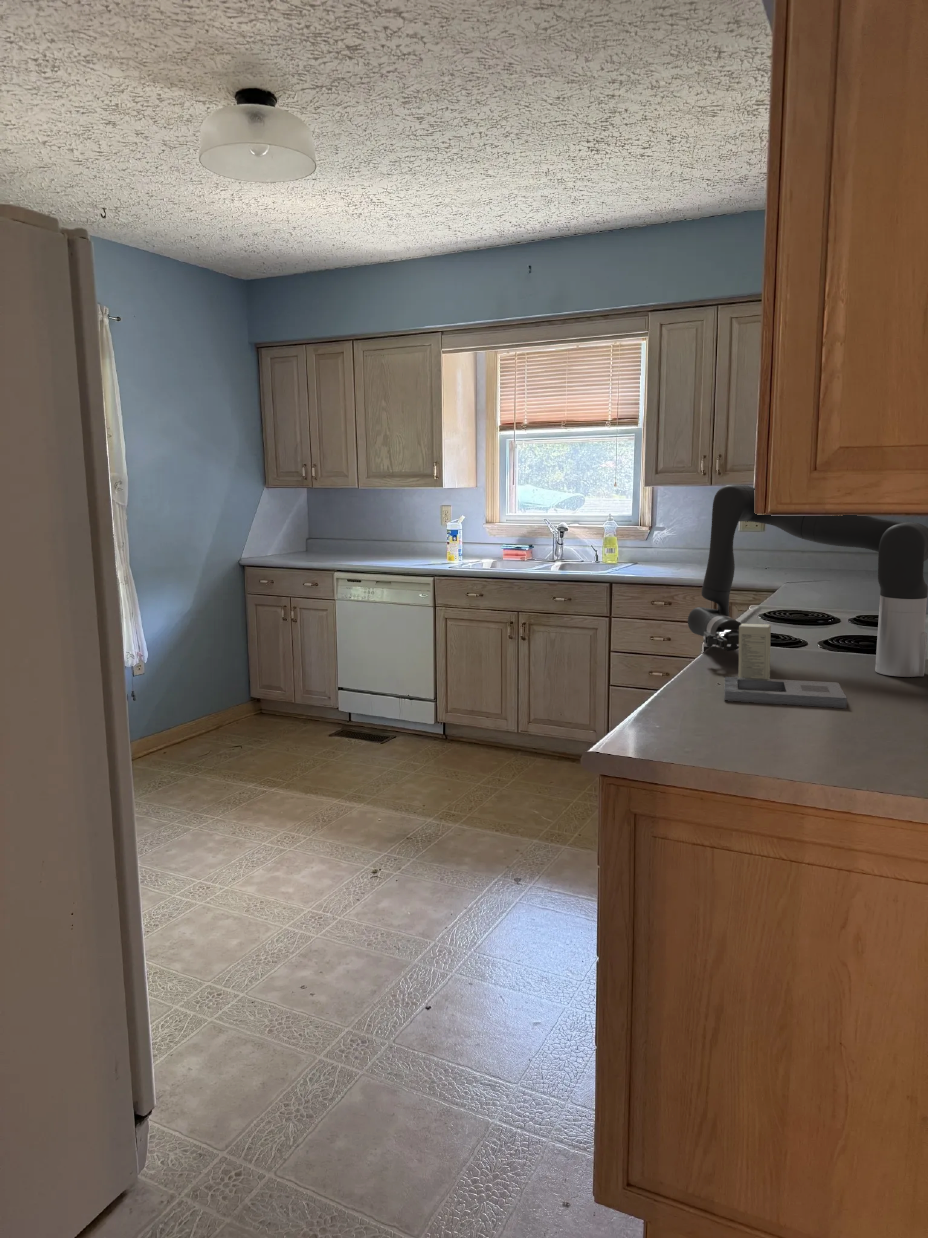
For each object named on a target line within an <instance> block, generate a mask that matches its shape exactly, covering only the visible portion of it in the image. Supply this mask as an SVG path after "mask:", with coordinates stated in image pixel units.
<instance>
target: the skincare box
mask: <svg viewBox="0 0 928 1238" xmlns="http://www.w3.org/2000/svg"><path fill="white" fill-rule="evenodd" d="M771 629H772V626H771V624H770V623H769V624H766V623H765V624H764V623H763V624H762V623H741V625H740V626H739V648H738V670H737V671H738V675H737V676H738V677H740V678H759V679H771V635H772V634H771V633H772V632H771V631H772V630H771Z"/></svg>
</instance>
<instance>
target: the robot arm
mask: <svg viewBox="0 0 928 1238" xmlns="http://www.w3.org/2000/svg"><path fill="white" fill-rule="evenodd" d="M755 488H756V487H753V486H750V485H746V484H727V485H724V486H722V487H721V488H719V489H718V490H717V491H716V493H715V495H714V498H713V501H712V508H711V511H712V512H711V528H710V529H711V530H710V541H709V552H708V560H707V565H706V570H705V573H704V574H705V575H704V578H703V581H702V582H703V583H702V588H701V596H702V597H703V598H704V599H705V600H707V601H709V602H713V603H715V604H716V605H717V609H716V608H708V607H702V606H698V607H695V608H693V609H692V610H691V611H690V612H689V614H688V616H687V625H688V628H689V630H690V631H691V632H692V633H693V634H694V635H698V636H701V637H703V640H702V641H703V643H704V644H705V645H706V647H710V648H711V647H714V646H713V645H715V647H716V648H719V649H721V650H724V651H727V652H732V651H736V650H739V626H740V625H741V624H742V623H741V622H740V621H739V620H736V619H734V618H733V617H731V616H730V594H731V589H732V585H733V581H734V577H735V568H736V567H735V557H734V555H735V554H734V538H735V533H736V530H737V527H738V525H739V522H750V523H759V524H765V525H770V526H772V527H776V528H778V529H781V530H782V531H784V532H786V533H787V534H789V535H792V536H793V537H796V538H799V539H802V540H805V541H809V542H813V543H817V544H822V545H828V546H835V547H843V548H844V547H845V548H859V549H865V550H870V551H875V552H878V556H877V557H878V558H877V561H878V562H877V582H878V584H879V585H878V586H879V588H880V590H879V605H878V607H879V609H878V625H877V635H876V636H877V637H876V639H877V640H876V651H875V653H876V654H875V662H874V663H875V668H874V670H875V672H876V673H878V674H880V675H884V676H891V677H904V678H910V677H911V678H913V677H915V678H916V677H924V676H925V669H926V667H925V666H926V653H927V641H928V640H927V638H928V633H926V620H927V619H926V618H927V604H928V603H927V602H928V584H927V582H926V581H925V579H924V567H925V566H924V563H925V561H927V560H928V526H926V525H924V524H923V523H919V522H910V521H909V522H908V521H900V520H899V521H898V520H891V519H884V518H879V517H874V516H871V515H868V516H857V515H843V516H771V515H757V514H755V513H754V490H755Z"/></svg>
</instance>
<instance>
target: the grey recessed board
mask: <svg viewBox="0 0 928 1238" xmlns="http://www.w3.org/2000/svg"><path fill="white" fill-rule="evenodd" d="M723 686H724V687H723V688H724V692H723V693H724V699H723V700H728V701H727V702H733V701H741V702H740V703H749V702H754V703H753V704H770V705H782V704H787V706H799V705H802V706H803V707H817V708H819V707H820V708H832V707H834V708H836V709H847V703H848V702H847V699H848V697H847V696H846V694H845V693H844V691H843V689H842V686H841V685H840V684H839V682H834V681H832V682H831V681H816V680H815V681H814V680H813V681H812V680H795V679H794V680H793V679H775V678H770V679H759V678H740V677H737V676H736V677H735V676H724V685H723Z"/></svg>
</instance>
